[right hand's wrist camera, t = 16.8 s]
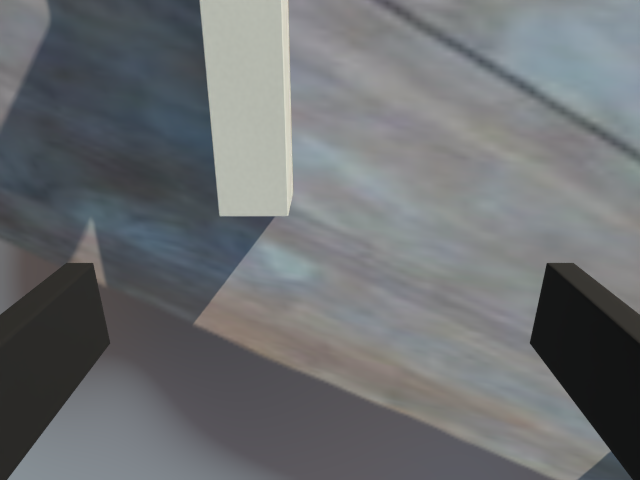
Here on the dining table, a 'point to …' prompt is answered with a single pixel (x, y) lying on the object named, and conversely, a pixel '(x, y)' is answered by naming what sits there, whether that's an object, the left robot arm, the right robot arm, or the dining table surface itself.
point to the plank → (249, 104)
